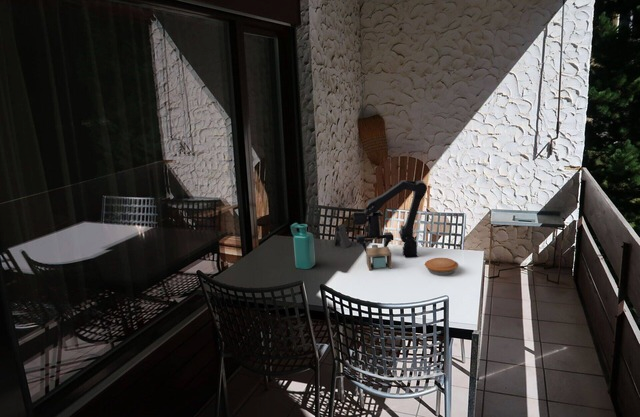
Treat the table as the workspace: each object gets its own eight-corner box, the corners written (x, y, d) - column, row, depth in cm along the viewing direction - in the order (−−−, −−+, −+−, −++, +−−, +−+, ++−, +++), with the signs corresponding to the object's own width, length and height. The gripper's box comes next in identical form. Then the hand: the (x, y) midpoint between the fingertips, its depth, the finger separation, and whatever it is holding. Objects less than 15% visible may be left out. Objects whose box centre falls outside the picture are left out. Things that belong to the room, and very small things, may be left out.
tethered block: (380, 255, 270) (380, 244, 269) (385, 267, 253) (385, 255, 252) (369, 256, 270) (368, 245, 269) (373, 268, 253) (373, 256, 252)
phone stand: (351, 245, 290) (350, 224, 287) (345, 248, 285) (344, 227, 283) (337, 243, 295) (336, 223, 292) (331, 246, 291) (330, 225, 288)
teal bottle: (316, 264, 265) (313, 222, 259) (309, 269, 257) (306, 227, 252) (299, 262, 269) (296, 221, 263) (292, 268, 261) (288, 226, 256)
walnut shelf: (388, 261, 261) (388, 246, 259) (391, 269, 251) (391, 253, 249) (366, 263, 260) (366, 248, 258) (369, 270, 251) (368, 255, 249)
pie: (434, 279, 235) (434, 269, 234) (419, 268, 250) (418, 258, 248) (464, 274, 239) (464, 264, 238) (447, 263, 253) (447, 253, 252)
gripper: (389, 218, 272) (390, 247, 276) (354, 221, 272) (355, 249, 276) (393, 224, 262) (394, 253, 265) (356, 227, 261) (357, 256, 265)
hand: (375, 253), depth 268 cm, fingers open, 9 cm apart
